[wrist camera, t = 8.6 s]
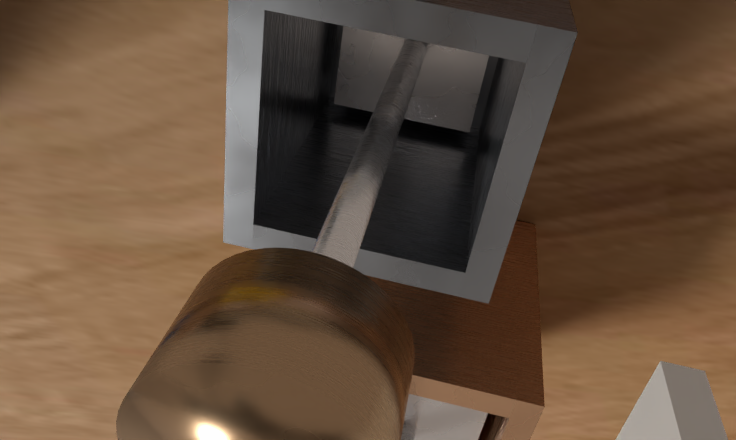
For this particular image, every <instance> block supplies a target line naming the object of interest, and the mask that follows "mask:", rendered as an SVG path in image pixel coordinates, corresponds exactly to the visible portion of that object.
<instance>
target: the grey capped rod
mask: <svg viewBox="0 0 736 440" xmlns="http://www.w3.org/2000/svg"><path fill="white" fill-rule="evenodd" d="M487 414H488V413H486V412H482V411H478V410H474V409H469V408H465V407H461V406H457V405H453V404H449V403H445V402H441V401H437V400H433V399H429V398H424V397H420V396H416V395H412V394H409V396H408V402H407V408H406V413H405V419H404V425H403V431H402V436H401V440H478V438H479V436H480V433H481V430H482V428H483V425H484V422H485V420H486V417H487Z"/></svg>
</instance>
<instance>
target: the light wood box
mask: <svg viewBox="0 0 736 440" xmlns="http://www.w3.org/2000/svg"><path fill="white" fill-rule="evenodd" d="M365 276H367V275H365ZM367 277H368V278H370V279H371V280H372V281H373V282H374V283H376V284H377V285H378V286H379V287H380V288H382V289H383V290H384V291H385V292H386V293H387V295H388V296H389V297H390V298H391V299H392V300H393V301H394V302H395V304H396V305H397V307H398V308H399V309H400V311H401V312H402V314H403V316H404V318H405V319H406V321H407V323H408V325H409V328H410V331H411V334H412V337H413V342H414V347H415V361H414V367H413V373H412V379H411V385H410V390H409V394H412V395H416V396H420V397H424V398H429V399H433V400H437V401H441V402H445V403H449V404H453V405H457V406H461V407H465V408H469V409H474V410H478V411H482V412H486V413H488V414H487V417H486V420H485V422H484V425H483V428H482V430H481V433H480V436H479V438H478V440H530V438H531V436H532V434H533V432H534V429H535V427H536V425H537V423H538V420H539V418H540V416H541V414H542V411H543V409H544V407H545V406H544V387H543V367H542V348H541V328H540V309H539V289H538V270H537V250H536V230H535V224H531V223H527V222H522V221H518V220H516V222H515V225H514V228H513V231H512V234H511V237H510V240H509V243H508V246H507V249H506V252H505V255H504V259H503V262H502V265H501V268H500V271H499V274H498V277H497V280H496V283H495V286H494V289H493V292H492V295H491V298H490V301H489V304H488V303H484V302H479V301H475V300H471V299H466V298H462V297H458V296H453V295H449V294H445V293H441V292H436V291H432V290H428V289H423V288H419V287H415V286H410V285H406V284H402V283H397V282H393V281H389V280H384V279H380V278H376V277H371V276H367Z"/></svg>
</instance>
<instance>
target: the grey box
mask: <svg viewBox="0 0 736 440" xmlns="http://www.w3.org/2000/svg"><path fill="white" fill-rule="evenodd" d="M343 26H347V27H352V28H357V29H362V30H367V31H372V32H376V33H381V34H386V35H391V36H396V37H401V38H406V39H411V40H416V41H421V42H426V43H431V44H436V45H441V46H445V47H450V48H455V49H460V50H465V51H470V52H475V53H480V54H485V55H489V58H488V62H487V66H486V70H485V73H484V77H483V81H482V85H481V89H480V93H479V97H478V101H477V105H476V109H475V113H474V116H473V120H472V124H471V128H470V132H465V131H460V130H455V129H450V128H446V127H441V126H436V125H432V124H427V123H422V122H417V121H413V120H408V119H403V122H402V125H401V128H400V131H399V134H398V137H397V140H396V143H395V146H394V149H393V152H392V155H391V158H390V161H389V163H388V166H387V169H386V172H385V175H384V178H383V181H382V184H381V187H380V190H379V193H378V196H377V199H376V202H375V205H374V208H373V211H372V214H371V216H370V219H369V222H368V225H367V228H366V231H365V234H364V237H363V240H362V243H361V246H360V249H359V252H358V255H357V258H356V261H355V264H354V266H353V268H354V269H356V270H358V271H359V272H361V273H362V274H364V275H367V276H371V277H376V278H380V279H384V280H389V281H393V282H397V283H402V284H406V285H410V286H415V287H419V288H423V289H428V290H432V291H436V292H441V293H445V294H449V295H453V296H458V297H462V298H466V299H471V300H475V301H479V302H484V303H488V304H489V301H490V298H491V295H492V292H493V289H494V286H495V283H496V280H497V277H498V274H499V271H500V268H501V265H502V262H503V259H504V255H505V252H506V249H507V246H508V243H509V240H510V237H511V234H512V231H513V228H514V225H515V222H516V219H517V216H518V213H519V210H520V207H521V204H522V201H523V198H524V195H525V191H526V188H527V185H528V182H529V179H530V176H531V173H532V170H533V167H534V164H535V161H536V158H537V155H538V152H539V149H540V146H541V143H542V140H543V137H544V134H545V131H546V127H547V124H548V121H549V118H550V115H551V112H552V109H553V106H554V103H555V100H556V97H557V94H558V91H559V88H560V85H561V82H562V79H563V76H564V73H565V70H566V66H567V63H568V60H569V57H570V54H571V51H572V48H573V45H574V42H575V39H576V36H577V33H578V32H577V28H576V25H575V21H574V17H573V14H572V10H571V6H570V3H569V0H228V44H227V91H226V138H225V185H224V232H223V242H225V243H229V244H233V245H238V246H242V247H246V248H250V249H261V248H293V249H299V250H305V251H312V249H313V247H314V245H315V242H316V240H317V238H318V236H319V233H320V231H321V229H322V227H323V224H324V222H325V220H326V217H327V215H328V213H329V211H330V208H331V206H332V204H333V202H334V199H335V197H336V195H337V193H338V190H339V188H340V186H341V184H342V181H343V179H344V177H345V175H346V172H347V170H348V168H349V166H350V163H351V161H352V159H353V157H354V154H355V152H356V150H357V148H358V145H359V143H360V141H361V139H362V136H363V134H364V132H365V130H366V127H367V125H368V123H369V121H370V118H371V116H372V114H373V112H370V111H366V110H361V109H356V108H352V107H347V106H342V105H337V104H334V99H335V91H336V83H337V74H338V66H339V58H340V50H341V42H342V33H343Z"/></svg>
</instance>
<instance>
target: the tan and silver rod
mask: <svg viewBox="0 0 736 440" xmlns="http://www.w3.org/2000/svg"><path fill="white" fill-rule="evenodd" d="M488 58H489V55H485V54H480V53H475V52H470V51H465V50H460V49H455V48H450V47H445V46H441V45H436V44H431V43H426V42H421V41H416V40H411V39H406V38H401V37H396V36H391V35H386V34H381V33H376V32H372V31H367V30H362V29H357V28H352V27H347V26H343V33H342V42H341V50H340V58H339V66H338V74H337V83H336V91H335V99H334V104H337V105H342V106H347V107H352V108H356V109H361V110H366V111H370V112H373V114H372V116H371V118H370V121H369V123H368V125H367V127H366V130H365V132H364V134H363V136H362V139H361V141H360V143H359V145H358V148H357V150H356V152H355V154H354V157H353V159H352V161H351V163H350V166H349V168H348V170H347V172H346V175H345V177H344V179H343V181H342V184H341V186H340V188H339V190H338V193H337V195H336V197H335V199H334V202H333V204H332V206H331V208H330V211H329V213H328V215H327V217H326V220H325V222H324V224H323V227H322V229H321V231H320V233H319V236H318V238H317V240H316V242H315V245H314V247H313V249H312V251H305V250H299V249H293V248H261V249H255V250H249V251H246V252H242V253H239V254H236V255H233V256H231V257H229V258H227V259H225V260H223V261H221V262H220V263H218V264H217V265H216V266H214V267H213V268H212V269H211V270H209V271H208V272H207V273H206V274H205V275H204V277H203V278H202V279H201V281H200V282H199V284H198V285H197V286H196V288H195V290H194V291H193V293H192V294H191V296H190V297H189V299H188V300H187V302H186V303H185V305H184V307H183V308H182V310H181V311H180V313H179V314H178V316H177V317H176V319H175V320H174V322H173V324H172V325H171V327H170V328H169V330H168V331H167V333H166V334H165V336H164V338H163V339H162V341H161V342H160V344H159V345H158V347H157V348H156V350H155V351H154V353H153V355H152V356H151V358H150V359H149V361H148V362H147V364H146V365H145V367H144V368H143V370H142V372H141V373H140V375H139V376H138V378H137V379H136V381H135V382H134V384H133V385H132V387H131V389H130V390H129V392H128V393H127V395H126V396H125V398H124V399H123V401H122V404H121V406H120V408H119V411H118V416H117V421H116V428H117V437H118V440H401V436H402V431H403V425H404V419H405V413H406V408H407V402H408V396H409V390H410V385H411V379H412V373H413V367H414V361H415V347H414V342H413V337H412V334H411V331H410V328H409V325H408V323H407V321H406V319H405V318H404V316H403V314H402V312H401V311H400V309H399V308H398V307H397V305H396V304H395V302H394V301H393V300H392V299H391V298H390V297H389V296H388V295H387V293H386V292H385V291H384V290H383V289H382V288H380V287H379V286H378V285H377V284H376V283H374V282H373V281H372V280H371V279H370V278H368V277H367V276H365V275H364V274H362V273H361V272H359V271H358V270H356V269H354V268H353V266H354V264H355V261H356V258H357V255H358V252H359V249H360V246H361V243H362V240H363V237H364V234H365V231H366V228H367V225H368V222H369V219H370V216H371V214H372V211H373V208H374V205H375V202H376V199H377V196H378V193H379V190H380V187H381V184H382V181H383V178H384V175H385V172H386V169H387V166H388V163H389V161H390V158H391V155H392V152H393V149H394V146H395V143H396V140H397V137H398V134H399V131H400V128H401V125H402V122H403V119H408V120H413V121H417V122H422V123H427V124H432V125H436V126H441V127H446V128H450V129H455V130H460V131H465V132H470V128H471V124H472V120H473V116H474V113H475V109H476V105H477V101H478V97H479V93H480V89H481V85H482V81H483V77H484V73H485V70H486V66H487V62H488Z"/></svg>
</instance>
